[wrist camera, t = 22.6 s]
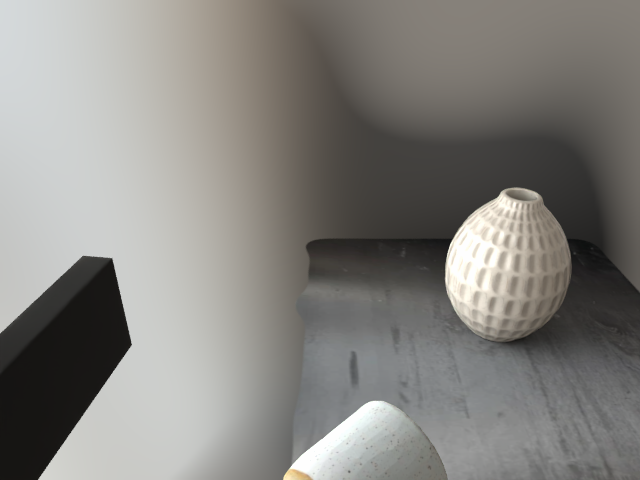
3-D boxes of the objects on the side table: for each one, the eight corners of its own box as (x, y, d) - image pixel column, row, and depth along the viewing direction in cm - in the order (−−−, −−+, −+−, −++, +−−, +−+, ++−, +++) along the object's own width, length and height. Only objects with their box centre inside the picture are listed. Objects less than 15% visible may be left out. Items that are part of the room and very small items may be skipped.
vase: (577, 340, 57) (621, 206, 49) (491, 378, 52) (524, 235, 44) (495, 283, 67) (520, 164, 59) (416, 310, 62) (431, 183, 54)
